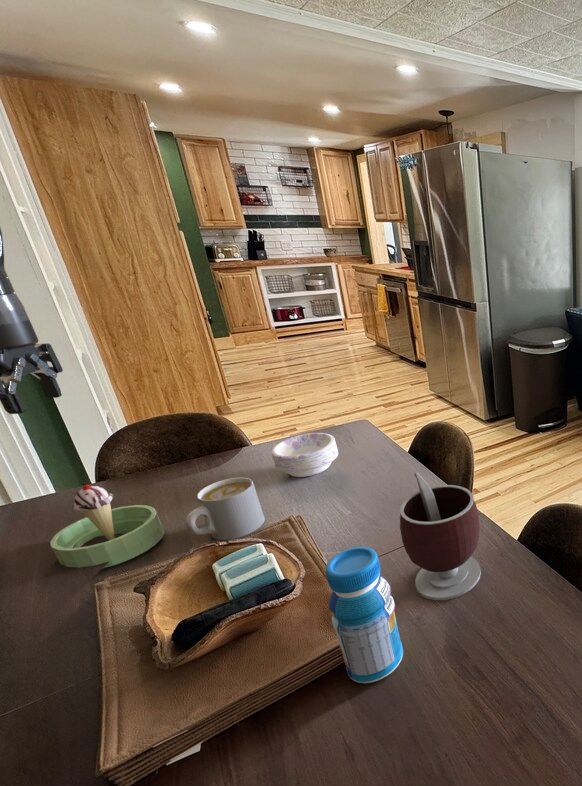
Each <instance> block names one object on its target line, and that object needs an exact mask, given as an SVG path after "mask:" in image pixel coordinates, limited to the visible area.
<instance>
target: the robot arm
mask: <svg viewBox="0 0 582 786" xmlns="http://www.w3.org/2000/svg"><path fill="white" fill-rule="evenodd" d="M2 231H3V230H2V228H1V227H0V403H1V405H2V407H3V409H4V411H5V412H6V413H7V414H9V415H20V414H23V413H25V412H26V407H25V405H24V403H23V401H22V400H21V399H22V398H20V395H19V394H18V392H17V387H18V384H19V383H20V382H21V381H22V377H25V376H26V375H29V374H31V375H32V376H34V377H35V378H37V379H38V384H39V387H41V391H42V393H43V395H44V396H45V398H47V399H57V398H60V397H62V395H63V393H62V391H61V388H60V385H59V383H58V381H57V377H58V374H60V373H63V371H64V369H63V367H62V365H61V362H60V361H59V358H58V357H57V354H56V353H55V351H54V349H53V346H52V344H50V343H39V337H38V335H37V333H36V330H35V328H34V326H33V325H32V321H31V320H30V317H29V315H28V313H27V311H26V308H25V306H24V304H23V303H22V301H21V299H20V298H19V296H18V295H17V293H16V292H15V289H14V286H13V284H12V282H11V280H10V277H9V275H8V273H7V271H6V267H5V252H4V251H5V250H4V239H3V232H2ZM48 362H49V363H51V366H50V365H49V363H48ZM5 384H6V387H5V386H4V385H5Z"/></svg>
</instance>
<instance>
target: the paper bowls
mask: <svg viewBox="0 0 582 786" xmlns="http://www.w3.org/2000/svg"><path fill="white" fill-rule="evenodd" d="M338 449H339V448H338V446H337V443H336V438H335V437H334V435H331V434H329V433H326V432H310V433H304V434H303V433H302V434H298V435H294V436H292V437H288V438H286V439H284V440H281V441H280V442H278V443H276V444H275V445H274V446H273V447H272V449H271V456H272V459H273V463H274V466H275V469H276V470H277V471H278V472H282V473H287V474H288V475H290V476H292V477H296V478H305V477H311V476H316V475H318V474H320V473H323V472H324V471H325V470H327V469H329V467H330V466H331V464H332V462H334V460H336V459H337V458H338V456H339V450H338Z"/></svg>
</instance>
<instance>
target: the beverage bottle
mask: <svg viewBox="0 0 582 786" xmlns="http://www.w3.org/2000/svg"><path fill="white" fill-rule="evenodd" d="M325 576H326V580H327V583H328V586H329V588H330V590H331V594H330V597H329V602H328V610H329V613H330V615H331V624H332V628H333V630H334V632H335V634H336V637H337V640H338V644H339V647H340V651H341V654H342V658H343V662H344V665H345V669H346V673H347V675H348V677H349V678H350V679H351V680H352V681H354V682H356V683H359V684H371V683H375V682H378V681H381V680H382V679H384V678H386V677H388V676H389V675H391V674H392V673H393V672H394V671H395V670H396V669H397V668H398V666H399V665H400V663H401V661H402V659H403V656H404V648H403V644H402V641H401V637H400V632H399V627H398V623H397V618H396V613H395V608H396V605H395V600H394V597H393V595H392V593H391V586H390V584H389V582H388V581H387V580H386V578H385V577H384V576H383V575H381V565H380V559H379V556H378V554H377V552H376V551H375V550H374V549H373V548H371V547H368V546H355V547H351V548H347V549H345V550H342V551H339V552H338V553H336V554H335V555H334V556H333V557H331V558H330V560H328V562H327V563H326V565H325Z"/></svg>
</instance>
